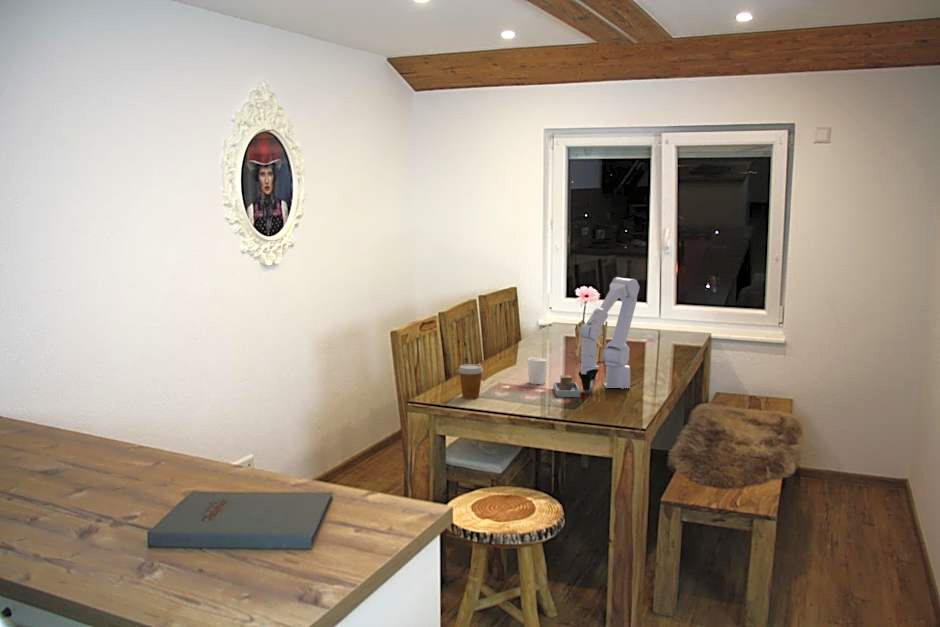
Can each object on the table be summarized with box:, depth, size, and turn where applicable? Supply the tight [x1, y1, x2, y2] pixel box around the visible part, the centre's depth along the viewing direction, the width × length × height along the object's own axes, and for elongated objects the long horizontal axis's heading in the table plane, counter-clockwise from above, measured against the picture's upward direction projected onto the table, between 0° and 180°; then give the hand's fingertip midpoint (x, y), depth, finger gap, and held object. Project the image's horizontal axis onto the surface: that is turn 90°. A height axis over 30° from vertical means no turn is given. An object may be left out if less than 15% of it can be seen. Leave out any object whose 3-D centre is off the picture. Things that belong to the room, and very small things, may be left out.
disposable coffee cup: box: [458, 363, 484, 400], centre depth 303 cm, size 10×10×12 cm
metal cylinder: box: [582, 379, 595, 394], centre depth 312 cm, size 4×4×5 cm
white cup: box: [527, 356, 548, 385], centre depth 327 cm, size 8×8×10 cm
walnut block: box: [559, 374, 573, 390], centre depth 314 cm, size 4×4×5 cm
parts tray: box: [553, 381, 581, 398], centre depth 311 cm, size 9×14×2 cm, turn 179°
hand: (588, 388), depth 312 cm, fingers open, 5 cm apart
